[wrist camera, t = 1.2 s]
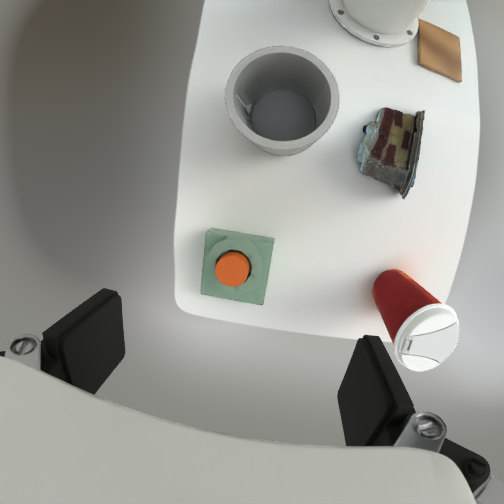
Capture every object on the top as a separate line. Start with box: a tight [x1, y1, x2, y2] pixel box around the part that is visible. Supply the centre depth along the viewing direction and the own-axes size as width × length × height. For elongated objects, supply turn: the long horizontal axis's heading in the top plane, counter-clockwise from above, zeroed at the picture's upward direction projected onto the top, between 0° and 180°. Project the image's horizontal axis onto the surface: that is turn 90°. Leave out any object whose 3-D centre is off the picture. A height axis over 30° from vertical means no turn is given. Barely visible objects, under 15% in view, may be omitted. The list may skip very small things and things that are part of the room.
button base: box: [201, 228, 274, 305], centre depth 35 cm, size 8×8×4 cm
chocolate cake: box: [357, 108, 425, 200], centre depth 30 cm, size 10×7×12 cm
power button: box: [215, 252, 250, 287], centre depth 32 cm, size 4×4×2 cm
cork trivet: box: [418, 19, 462, 82], centre depth 25 cm, size 8×7×1 cm
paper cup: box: [373, 269, 459, 371], centre depth 29 cm, size 8×8×14 cm
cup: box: [225, 46, 339, 156], centre depth 26 cm, size 9×9×12 cm
